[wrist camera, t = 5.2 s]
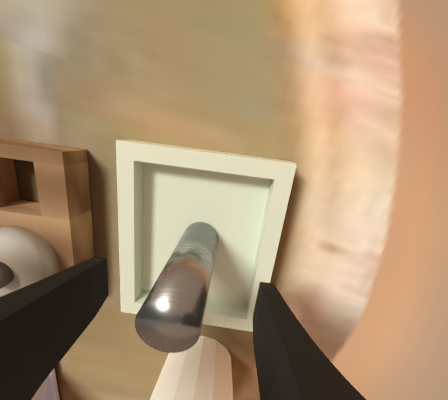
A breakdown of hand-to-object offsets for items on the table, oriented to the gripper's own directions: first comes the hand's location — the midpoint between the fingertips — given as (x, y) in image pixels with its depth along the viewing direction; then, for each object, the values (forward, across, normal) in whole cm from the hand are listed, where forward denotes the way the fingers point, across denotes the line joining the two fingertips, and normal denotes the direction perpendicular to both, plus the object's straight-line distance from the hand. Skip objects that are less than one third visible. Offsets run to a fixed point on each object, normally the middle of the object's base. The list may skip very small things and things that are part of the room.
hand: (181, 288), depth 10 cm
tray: (+5, 0, 0) cm, 5 cm away
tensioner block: (+5, +12, 0) cm, 13 cm away
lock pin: (+5, 0, 0) cm, 5 cm away
